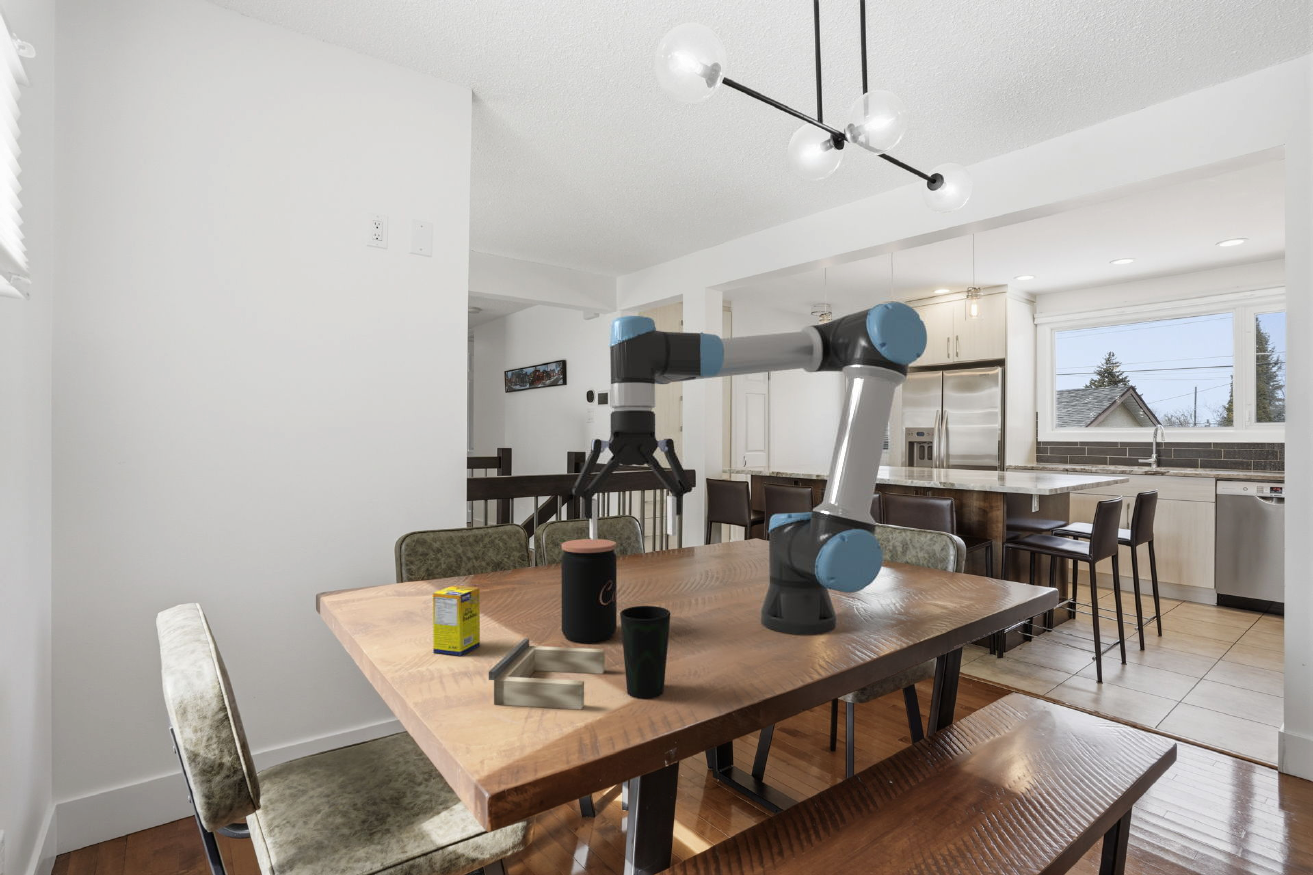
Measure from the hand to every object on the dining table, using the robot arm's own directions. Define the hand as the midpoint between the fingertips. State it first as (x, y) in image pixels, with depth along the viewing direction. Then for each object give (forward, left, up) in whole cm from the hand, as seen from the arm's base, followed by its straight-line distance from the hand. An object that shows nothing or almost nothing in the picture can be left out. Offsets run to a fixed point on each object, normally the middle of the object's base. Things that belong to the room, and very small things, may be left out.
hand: (633, 536), depth 105 cm
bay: (+11, +10, -22) cm, 26 cm away
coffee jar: (+12, -15, -22) cm, 29 cm away
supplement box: (+34, -4, -22) cm, 40 cm away
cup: (-3, +10, -22) cm, 24 cm away
